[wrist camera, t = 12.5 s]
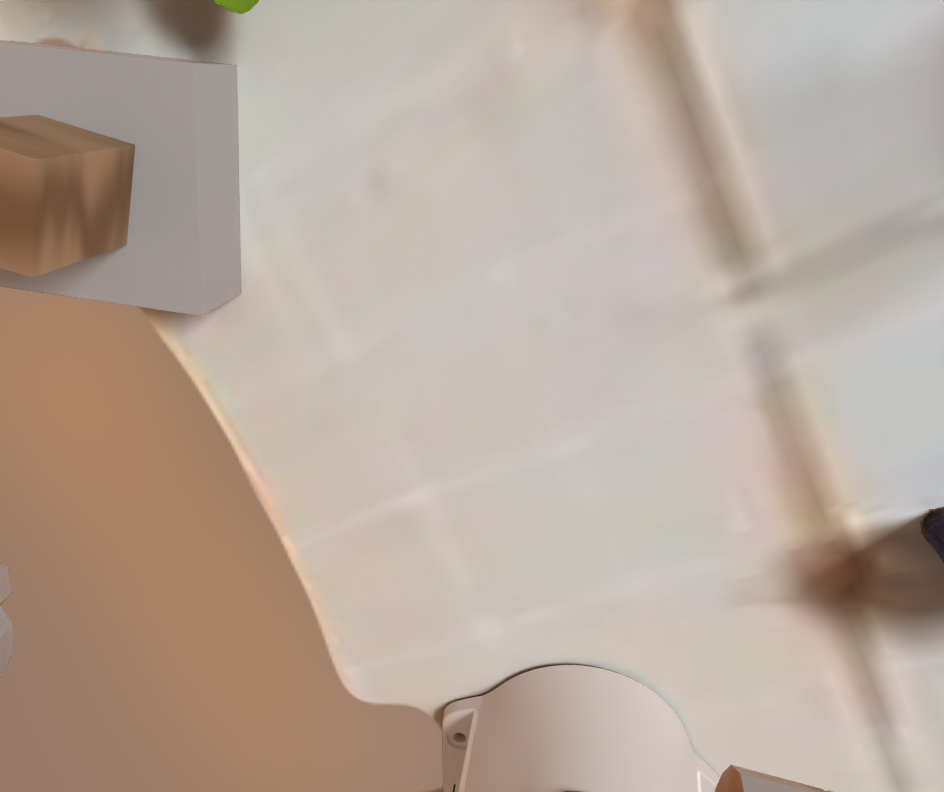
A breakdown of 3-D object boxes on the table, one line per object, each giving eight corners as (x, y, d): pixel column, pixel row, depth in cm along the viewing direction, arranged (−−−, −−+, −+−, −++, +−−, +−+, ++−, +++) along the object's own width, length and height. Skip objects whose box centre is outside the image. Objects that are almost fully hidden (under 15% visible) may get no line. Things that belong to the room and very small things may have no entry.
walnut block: (126, 244, 39) (32, 278, 33) (34, 215, 39) (-77, 243, 33) (135, 144, 37) (36, 159, 31) (38, 114, 37) (-80, 122, 31)
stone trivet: (243, 291, 45) (202, 316, 40) (50, 264, 46) (-12, 284, 41) (239, 65, 40) (192, 63, 35) (25, 41, 41) (-48, 37, 37)
